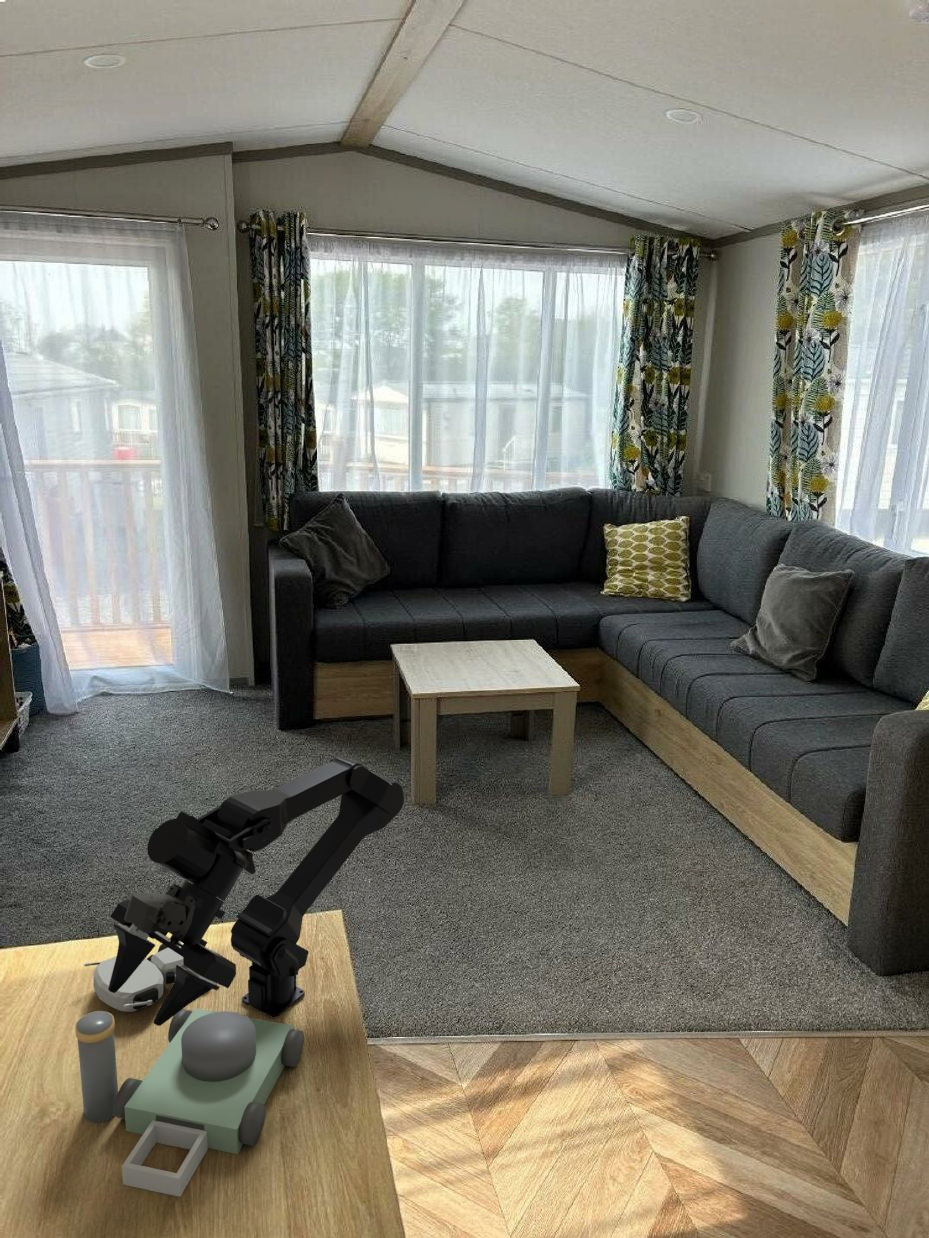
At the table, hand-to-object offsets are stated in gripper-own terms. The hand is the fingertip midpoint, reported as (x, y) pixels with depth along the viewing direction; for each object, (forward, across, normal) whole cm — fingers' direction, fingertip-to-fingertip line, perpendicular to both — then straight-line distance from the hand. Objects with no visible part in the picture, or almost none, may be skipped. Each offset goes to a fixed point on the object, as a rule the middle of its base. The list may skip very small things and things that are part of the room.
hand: (133, 1007), depth 120 cm
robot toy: (0, -15, +17) cm, 23 cm away
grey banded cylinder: (+12, 0, +5) cm, 13 cm away
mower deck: (+6, +9, +10) cm, 15 cm away
